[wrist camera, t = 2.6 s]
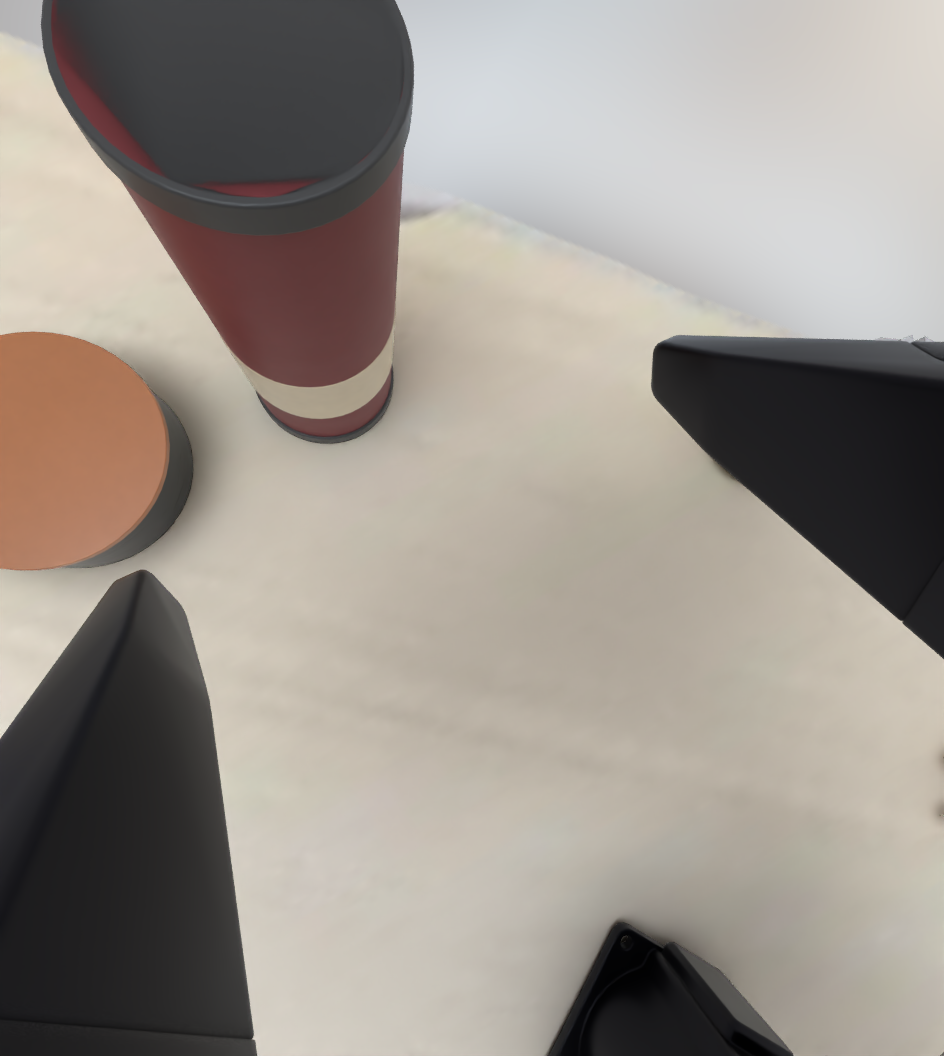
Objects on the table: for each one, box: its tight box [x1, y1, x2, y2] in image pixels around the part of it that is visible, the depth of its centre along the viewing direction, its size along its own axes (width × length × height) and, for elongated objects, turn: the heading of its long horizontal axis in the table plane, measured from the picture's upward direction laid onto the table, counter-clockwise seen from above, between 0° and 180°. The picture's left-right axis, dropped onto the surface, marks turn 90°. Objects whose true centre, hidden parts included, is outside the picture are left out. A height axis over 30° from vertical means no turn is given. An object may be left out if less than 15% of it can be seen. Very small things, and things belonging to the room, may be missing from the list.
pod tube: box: [41, 0, 414, 443], centre depth 15 cm, size 5×5×14 cm
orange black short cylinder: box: [0, 332, 193, 570], centre depth 18 cm, size 8×8×3 cm
